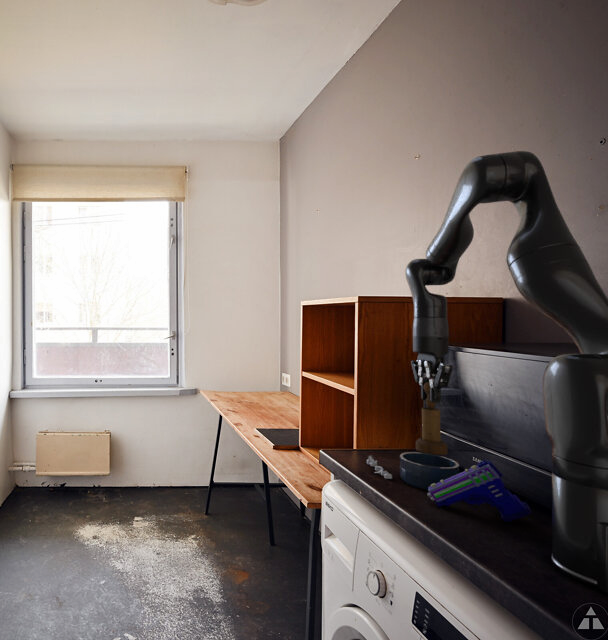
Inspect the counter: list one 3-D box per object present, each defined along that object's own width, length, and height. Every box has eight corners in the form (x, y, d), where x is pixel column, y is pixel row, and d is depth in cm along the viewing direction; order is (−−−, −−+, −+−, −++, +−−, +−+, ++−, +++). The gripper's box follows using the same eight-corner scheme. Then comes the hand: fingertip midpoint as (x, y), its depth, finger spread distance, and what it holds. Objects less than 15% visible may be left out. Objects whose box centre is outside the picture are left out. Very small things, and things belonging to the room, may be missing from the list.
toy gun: (534, 512, 75) (489, 462, 79) (461, 539, 82) (422, 492, 85) (530, 504, 79) (487, 456, 82) (460, 530, 85) (423, 485, 89)
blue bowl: (471, 494, 91) (471, 469, 91) (417, 492, 92) (417, 467, 92) (438, 475, 102) (438, 452, 102) (390, 473, 103) (390, 451, 103)
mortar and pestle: (436, 448, 110) (436, 380, 110) (453, 455, 103) (453, 384, 103) (410, 447, 110) (409, 380, 111) (425, 455, 104) (424, 383, 104)
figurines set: (393, 479, 99) (393, 467, 99) (380, 478, 99) (380, 467, 99) (372, 462, 111) (372, 452, 111) (361, 462, 111) (361, 451, 111)
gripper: (400, 334, 115) (400, 396, 114) (432, 335, 101) (432, 406, 100) (428, 334, 114) (429, 396, 114) (465, 335, 100) (465, 406, 100)
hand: (430, 400), depth 107 cm, fingers closed on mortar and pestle, 3 cm apart
